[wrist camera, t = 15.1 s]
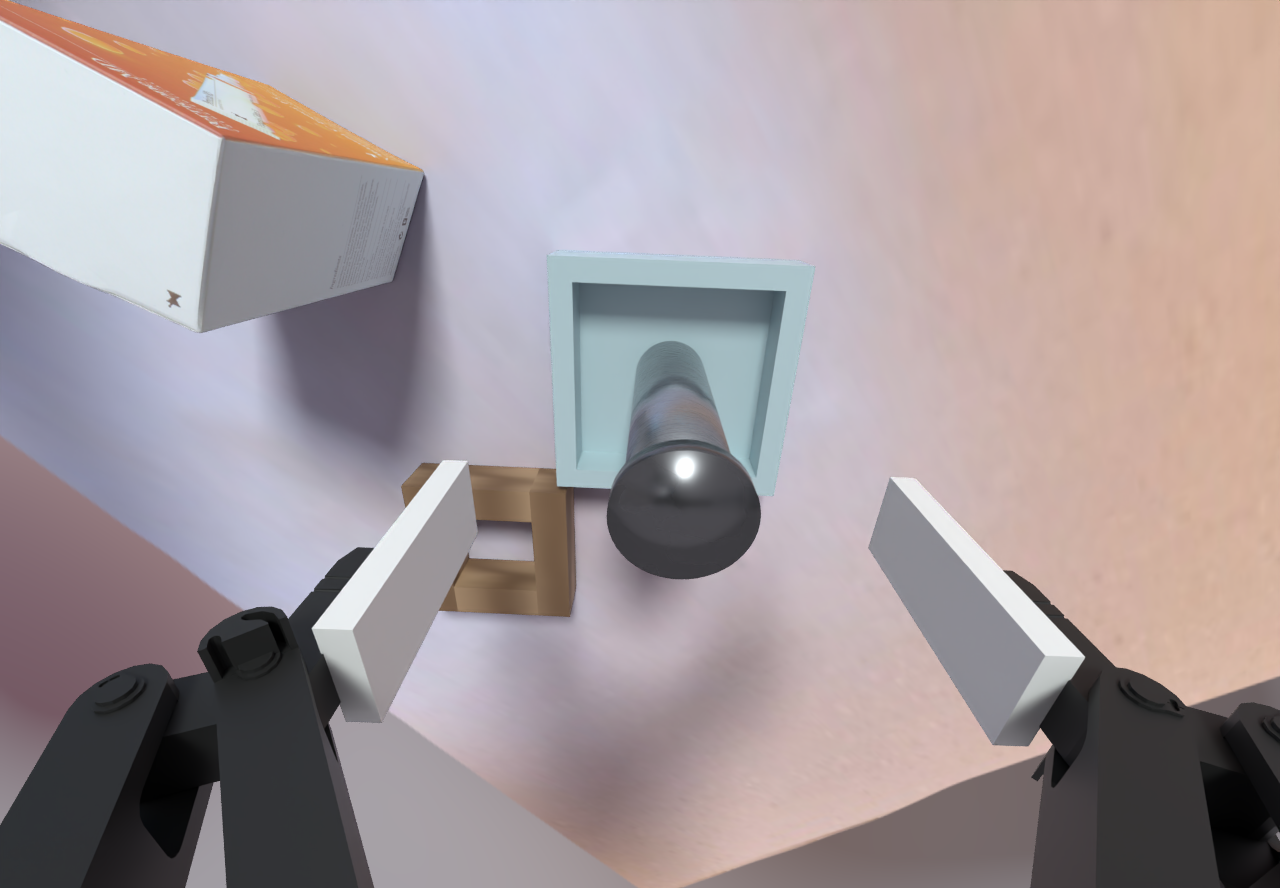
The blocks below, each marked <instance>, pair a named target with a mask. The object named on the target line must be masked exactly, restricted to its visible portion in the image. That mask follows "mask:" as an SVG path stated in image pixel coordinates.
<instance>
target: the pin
mask: <svg viewBox="0 0 1280 888" xmlns="http://www.w3.org/2000/svg"><path fill="white" fill-rule="evenodd" d="M760 518H761V510H760V503H759V498H758V495H757V493H756V490H755V487H754V484H753V482H752V479H751V477H750V475H749V473H748V472H747V470H746V468H745V467H744V466H743V465H742V464H741V462H740V461H739V460H738V459H736V458H735V457H734V456H733V455H732V454H731V453H730V450H729V446H728V443H727V440H726V437H725V434H724V430H723V427H722V424H721V421H720V417H719V414H718V411H717V408H716V405H715V401H714V398H713V395H712V392H711V388H710V385H709V382H708V379H707V376H706V372H705V369H704V366H703V363H702V360H701V358H700V357H699V355H698V354H697V352H696V351H695V350H694V349H692V348H691V347H690V346H688V345H686V344H684V343H681V342H677V341H665V342H661V343H658V344H655V345H653V346H652V347H650V348H649V349H648V350H646V352H645V353H644V354H643V355H642V356H641V358H640V360H639V362H638V365H637V368H636V377H635V385H634V394H633V403H632V411H631V420H630V429H629V438H628V446H627V455H626V463H625V464H624V466H623V467H622V468H621V469H620V470H619V472H618V474H617V475H616V477H615V479H614V482H613V484H612V487H611V491H610V495H609V502H608V508H607V525H608V529H609V533H610V535H611V538H612V540H613V542H614V544H615V546H616V547H617V549H618V550H619V551H620V553H621V554H622V555H623V556H624V557H625V558H626V559H627V560H628V561H630V562H631V563H632V564H634V565H635V566H637V567H638V568H640V569H642V570H644V571H646V572H648V573H651V574H654V575H657V576H660V577H665V578H671V579H693V578H700V577H705V576H708V575H711V574H714V573H717V572H719V571H721V570H723V569H725V568H727V567H728V566H730V565H732V564H733V563H734V562H736V561H737V560H738V559H739V558H740V557H741V556H742V555H744V554H745V552H746V551H747V550H748V549H749V547H750V546H751V544H752V543H753V541H754V539H755V537H756V535H757V532H758V529H759V525H760Z"/></svg>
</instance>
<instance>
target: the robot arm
mask: <svg viewBox="0 0 1280 888" xmlns="http://www.w3.org/2000/svg"><path fill="white" fill-rule="evenodd" d="M477 534H478V530H477V522H476V515H475V508H474V501H473V494H472V487H471V479H470V472H469V465H468V461H456V460H443V461H442V462H441V463H440V465H439V466H438V467H437V469H436V470H435V471H434V472H433V474H432V475H431V476H430V478H429V479H428V480H427V481H426V483H425V484H424V485H423V487H422V488H421V489H420V490H419V492H418V493H417V494H416V496H415V497H414V498H413V499H412V501H411V502H410V503H409V504H408V506H407V507H406V508H405V510H404V511H403V512H402V513H401V515H400V516H399V517H398V519H397V520H396V521H395V522H394V524H393V525H392V526H391V528H390V529H389V530H388V531H387V533H386V534H385V535H384V537H383V538H382V539H381V540H380V542H379V543H378V544H377V545H376V547H375V548H360V547H358V548H356V549H355V550H353V551H352V552H350V553H349V554H347V555H346V556H344V557H343V558H341V559H340V560H338V561H337V562H336V564H335V565H334V566H333V567H332V568H331V569H330V571H329V572H328V573H327V574H326V575H325V579H322V580H321V581H320V582H319V583H318V585H317V586H316V587H315V588H314V592H311V593H310V594H309V595H308V596H307V598H306V599H305V600H304V601H303V602H302V603H301V605H300V606H299V607H298V608H297V609H296V610H295V612H294V613H293V614H292V615H291V616H290V617H289V619H288V618H287V616H286V615H285V613H284V612H283V611H282V610H281V609H278V608H274V607H256V608H253V609H249V610H245V611H242V612H240V613H237V614H235V615H233V616H231V617H229V618H227V619H225V620H223V621H222V622H220V623H219V624H218V625H216V626H215V627H213V628H212V629H211V630H210V631H209V632H208V633H207V634H206V635H205V637H204V638H203V639H202V640H201V642H200V645H199V648H198V651H197V652H198V653H199V655H200V657H201V659H202V661H203V663H204V665H205V667H206V669H207V671H208V672H206V673H201V674H197V675H193V676H188V677H183V678H179V679H174V680H172V678H171V676H170V674H169V673H168V671H167V670H166V669H165V668H164V667H163V666H162V665H155V664H144V665H138V666H133V667H130V668H127V669H124V670H121V671H119V672H116V673H114V674H112V675H110V676H108V677H106V678H105V679H103V680H101V681H99V682H97V683H96V684H94V685H93V686H92V687H90V688H89V689H88V690H87V691H85V692H84V693H83V694H81V695H80V696H79V697H78V698H77V699H76V701H75V702H74V703H73V704H72V705H71V707H70V708H69V709H68V711H67V712H66V714H65V716H64V718H63V719H62V721H61V723H60V724H59V726H58V728H57V729H56V731H55V733H54V734H53V736H52V738H51V740H50V741H49V743H48V745H47V746H46V748H45V750H44V752H43V753H42V755H41V757H40V759H39V760H38V762H37V764H36V765H35V767H34V769H33V770H32V772H31V774H30V775H29V777H28V779H27V781H26V782H25V784H24V786H23V787H22V789H21V791H20V792H19V794H18V796H17V798H16V799H15V801H14V803H13V804H12V806H11V808H10V810H9V811H8V813H7V815H6V816H5V818H4V820H3V821H2V823H1V825H0V888H185V886H186V882H187V879H188V875H189V871H190V867H191V864H192V860H193V856H194V853H195V849H196V845H197V841H198V838H199V834H200V830H201V826H202V823H203V819H204V816H205V812H206V808H207V804H208V801H209V797H210V793H211V790H212V786H213V782H217V781H220V787H221V803H222V819H223V836H224V851H225V867H226V884H227V888H374V886H373V882H372V878H371V874H370V871H369V867H368V864H367V860H366V856H365V852H364V849H363V845H362V841H361V837H360V834H359V830H358V826H357V822H356V819H355V815H354V811H353V808H352V804H351V800H350V797H349V793H348V789H347V785H346V782H345V778H344V774H343V771H342V767H341V763H340V759H339V756H338V752H337V748H336V745H335V741H334V737H333V734H332V730H331V727H330V725H329V721H330V719H331V717H332V716H333V714H334V712H335V711H336V709H337V707H338V706H339V704H340V707H341V709H342V712H343V715H344V718H345V720H346V722H372V723H382V721H383V720H384V718H385V716H386V714H387V712H388V710H389V708H390V706H391V704H392V702H393V700H394V698H395V696H396V694H397V692H398V690H399V688H400V686H401V684H402V682H403V680H404V678H405V676H406V674H407V672H408V670H409V668H410V666H411V664H412V662H413V660H414V658H415V656H416V654H417V652H418V650H419V649H420V647H421V645H422V643H423V641H424V639H425V637H426V635H427V633H428V631H429V629H430V627H431V625H432V623H433V621H434V619H435V617H436V615H437V613H438V611H439V609H440V607H441V605H442V603H443V601H444V599H445V597H446V595H447V593H448V591H449V589H450V587H451V585H452V583H453V581H454V579H455V577H456V575H457V573H458V572H459V570H460V568H461V566H462V564H463V562H464V560H465V558H466V556H467V554H468V552H469V550H470V548H471V546H472V544H473V542H474V540H475V538H476V536H477ZM868 548H869V550H870V551H871V553H872V554H873V556H874V558H875V559H876V561H877V562H878V564H879V565H880V567H881V569H882V570H883V572H884V573H885V575H886V577H887V578H888V580H889V581H890V583H891V584H892V586H893V588H894V589H895V591H896V592H897V594H898V596H899V597H900V599H901V600H902V602H903V604H904V605H905V607H906V608H907V610H908V611H909V613H910V615H911V616H912V618H913V619H914V621H915V623H916V624H917V626H918V627H919V629H920V630H921V632H922V634H923V635H924V637H925V638H926V640H927V642H928V643H929V645H930V646H931V648H932V649H933V651H934V653H935V654H936V656H937V657H938V659H939V661H940V662H941V664H942V665H943V667H944V669H945V670H946V672H947V673H948V675H949V676H950V678H951V680H952V681H953V683H954V684H955V686H956V688H957V689H958V691H959V692H960V694H961V695H962V697H963V699H964V700H965V702H966V703H967V705H968V707H969V708H970V710H971V711H972V713H973V714H974V716H975V718H976V719H977V721H978V722H979V724H980V726H981V727H982V729H983V730H984V732H985V733H986V735H987V737H988V738H989V740H990V741H991V743H992V745H1004V746H1029V745H1030V743H1031V741H1032V740H1033V738H1034V737H1035V735H1036V734H1037V732H1038V730H1039V729H1040V728H1041V729H1042V731H1043V732H1044V733H1045V735H1046V736H1047V738H1048V739H1049V740H1050V742H1051V743H1052V744H1053V745H1052V746H1051V748H1050V749H1049V751H1048V752H1047V754H1046V755H1045V757H1044V758H1043V760H1042V761H1041V763H1040V764H1039V766H1038V767H1037V769H1036V770H1035V772H1034V774H1033V775H1032V778H1033V779H1035V780H1037V781H1038V780H1039V779H1040V777H1041V776H1042V775H1043V774H1044V777H1043V786H1042V794H1041V802H1040V811H1039V819H1038V828H1037V836H1036V845H1035V853H1034V863H1033V870H1032V879H1031V887H1030V888H1280V841H1279V839H1278V837H1277V836H1276V833H1277V832H1280V710H1277V709H1275V708H1272V707H1270V706H1266V705H1261V704H1257V703H1242V704H1240V705H1239V706H1238V707H1237V709H1236V710H1235V711H1234V712H1233V713H1232V714H1231V715H1230V716H1229V718H1226V717H1223V716H1220V715H1216V714H1212V713H1209V712H1205V711H1202V710H1198V709H1194V708H1191V707H1187V706H1185V705H1184V703H1183V702H1182V701H1181V700H1180V699H1179V698H1178V697H1177V696H1176V695H1175V694H1173V693H1172V692H1171V691H1169V690H1168V689H1167V688H1165V687H1164V686H1163V685H1161V684H1160V683H1158V682H1156V681H1154V680H1152V679H1150V678H1148V677H1147V676H1145V675H1143V674H1140V673H1137V672H1134V671H1131V670H1128V669H1124V668H1116V667H1115V666H1114V665H1113V664H1112V663H1111V662H1110V661H1109V660H1108V659H1107V658H1106V657H1105V656H1104V655H1103V654H1102V653H1101V652H1100V651H1099V650H1098V649H1097V648H1096V647H1095V646H1094V645H1093V644H1092V643H1091V642H1090V641H1089V640H1088V639H1087V638H1086V637H1085V636H1084V635H1083V634H1082V633H1081V632H1080V631H1079V630H1078V629H1077V628H1076V627H1075V626H1074V625H1073V624H1072V623H1071V622H1070V621H1069V620H1068V619H1065V618H1064V615H1063V614H1062V613H1061V612H1060V611H1059V610H1058V609H1057V608H1056V607H1055V606H1054V605H1051V604H1050V601H1049V600H1048V599H1047V598H1046V597H1045V596H1044V595H1043V594H1042V593H1041V592H1040V591H1039V590H1038V589H1037V588H1036V587H1035V586H1034V585H1033V584H1031V583H1030V582H1028V581H1027V580H1025V579H1024V578H1022V577H1021V576H1019V575H1018V574H1016V573H1015V572H1013V571H1005V570H1002V569H1001V568H1000V567H999V566H998V565H997V564H996V563H995V562H994V561H993V560H992V559H991V558H990V557H989V555H988V554H987V553H986V552H985V551H984V550H983V549H982V548H981V547H980V546H979V545H978V544H977V543H976V542H975V541H974V540H973V539H972V538H971V537H970V536H969V534H968V533H967V532H966V531H965V530H964V529H963V528H962V527H961V526H960V525H959V524H958V523H957V522H956V521H955V520H954V519H953V518H952V517H951V516H950V515H949V514H948V512H947V511H946V510H945V509H944V508H943V507H942V506H941V505H940V504H939V503H938V502H937V501H936V500H935V499H934V498H933V497H932V496H931V495H930V494H929V493H928V491H927V490H926V489H925V488H924V487H923V486H922V485H921V484H920V483H919V482H918V481H917V480H916V479H915V478H899V477H890V479H889V483H888V486H887V489H886V492H885V496H884V499H883V502H882V505H881V508H880V512H879V515H878V518H877V521H876V525H875V528H874V531H873V534H872V538H871V541H870V544H869V547H868Z"/></svg>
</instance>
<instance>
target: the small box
mask: <svg viewBox="0 0 1280 888" xmlns="http://www.w3.org/2000/svg"><path fill="white" fill-rule="evenodd" d="M423 175H424V172H423V170H422V169H420V168H418V167H416V166H414V165H412V164H410V163H408V162H406V161H404V160H402V159H400V158H398V157H396V156H394V155H392V154H390V153H388V152H386V151H385V150H383V149H381V148H379V147H377V146H376V145H374V144H372V143H370V142H368V141H367V140H365V139H363V138H361V137H359V136H357V135H356V134H354V133H352V132H350V131H348V130H346V129H345V128H343V127H341V126H339V125H338V124H336V123H334V122H332V121H330V120H329V119H327V118H325V117H323V116H322V115H320V114H318V113H316V112H315V111H313V110H311V109H309V108H308V107H306V106H304V105H302V104H301V103H299V102H297V101H295V100H294V99H292V98H290V97H288V96H287V95H285V94H283V93H281V92H279V91H278V90H276V89H274V88H273V87H271V86H269V85H266V84H264V83H260V82H257V81H254V80H251V79H248V78H245V77H242V76H239V75H236V74H233V73H230V72H226V71H223V70H220V69H217V68H213V67H210V66H207V65H204V64H201V63H198V62H195V61H192V60H189V59H186V58H183V57H180V56H177V55H174V54H170V53H167V52H164V51H161V50H158V49H155V48H152V47H149V46H146V45H143V44H140V43H136V42H133V41H130V40H127V39H124V38H121V37H118V36H115V35H112V34H109V33H106V32H103V31H100V30H97V29H94V28H90V27H88V26H85V25H82V24H79V23H76V22H72V21H69V20H66V19H63V18H60V17H57V16H54V15H51V14H47V13H45V12H42V11H39V10H36V9H33V8H30V7H27V6H23V5H20V4H17V3H14V2H11V1H8V0H0V244H2V245H4V246H6V247H8V248H10V249H12V250H15V251H17V252H19V253H21V254H23V255H25V256H27V257H29V258H31V259H33V260H35V261H37V262H39V263H41V264H43V265H44V266H46V267H48V268H50V269H52V270H54V271H56V272H58V273H60V274H62V275H64V276H67V277H69V278H71V279H73V280H75V281H77V282H80V283H82V284H85V285H87V286H90V287H92V288H95V289H97V290H100V291H102V292H105V293H108V294H111V295H113V296H115V297H118V298H120V299H122V300H125V301H127V302H129V303H131V304H133V305H136V306H138V307H140V308H143V309H145V310H147V311H149V312H151V313H154V314H156V315H158V316H161V317H163V318H165V319H167V320H170V321H172V322H174V323H176V324H178V325H181V326H183V327H185V328H187V329H189V330H191V331H194V332H197V333H203V332H207V331H211V330H214V329H218V328H221V327H225V326H229V325H233V324H236V323H240V322H244V321H248V320H251V319H255V318H259V317H262V316H266V315H270V314H273V313H277V312H281V311H284V310H288V309H292V308H295V307H299V306H303V305H307V304H310V303H314V302H318V301H321V300H325V299H329V298H333V297H336V296H340V295H344V294H347V293H351V292H355V291H358V290H362V289H366V288H370V287H373V286H377V285H381V284H385V283H389V282H392V280H393V278H394V274H395V271H396V268H397V264H398V261H399V257H400V254H401V251H402V247H403V244H404V240H405V237H406V233H407V230H408V226H409V223H410V219H411V216H412V213H413V209H414V206H415V202H416V198H417V195H418V192H419V188H420V185H421V182H422V179H423Z"/></svg>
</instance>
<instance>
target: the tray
mask: <svg viewBox="0 0 1280 888" xmlns="http://www.w3.org/2000/svg"><path fill="white" fill-rule="evenodd" d="M547 272H548V294H549V317H550V340H551V363H552V385H553V408H554V431H555V454H556V476H557V486H562V487H584V488H606V489H611V487H612V484H613V482H614V479H615V477H616V475H617V474H618V472H619V470H620V469H621V468H622V467H623V466H624V464H625V463H626V455H627V446H628V438H629V429H630V420H631V411H632V403H633V394H634V385H635V377H636V368H637V365H638V362H639V360H640V358H641V356H642V355H643V354H644V353H645V352H646V350H648V349H649V348H650V347H652V346H653V345H655V344H658V343H661V342H665V341H677V342H681V343H684V344H686V345H688V346H690V347H691V348H692V349H694V350H695V351H696V352H697V354H698V355H699V357H700V358H701V360H702V363H703V366H704V369H705V372H706V376H707V379H708V382H709V385H710V388H711V392H712V395H713V398H714V401H715V405H716V408H717V411H718V414H719V417H720V421H721V424H722V427H723V430H724V434H725V437H726V440H727V443H728V446H729V450H730V453H731V454H732V455H733V456H734V457H735V458H736V459H738V460H739V461H740V462H741V464H742V465H743V466H744V467H745V468H746V470H747V472H748V473H749V475H750V477H751V479H752V482H753V484H754V487H755V490H756V493H757V495H761V496H774V491H775V485H776V480H777V474H778V469H779V463H780V458H781V452H782V447H783V441H784V436H785V431H786V425H787V420H788V414H789V409H790V403H791V398H792V392H793V387H794V381H795V376H796V370H797V365H798V359H799V354H800V348H801V343H802V337H803V332H804V326H805V321H806V315H807V310H808V304H809V299H810V293H811V288H812V282H813V277H814V272H815V266H813V265H810V264H807V263H805V262H802V261H799V260H778V259H754V258H729V257H705V256H681V255H657V254H632V253H608V252H584V251H559V250H558V251H555V252H553V253H551V254H549V255H547Z"/></svg>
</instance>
